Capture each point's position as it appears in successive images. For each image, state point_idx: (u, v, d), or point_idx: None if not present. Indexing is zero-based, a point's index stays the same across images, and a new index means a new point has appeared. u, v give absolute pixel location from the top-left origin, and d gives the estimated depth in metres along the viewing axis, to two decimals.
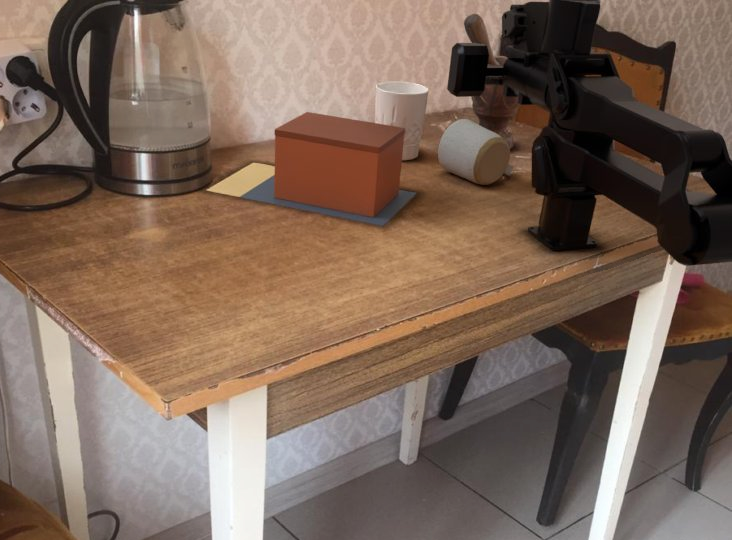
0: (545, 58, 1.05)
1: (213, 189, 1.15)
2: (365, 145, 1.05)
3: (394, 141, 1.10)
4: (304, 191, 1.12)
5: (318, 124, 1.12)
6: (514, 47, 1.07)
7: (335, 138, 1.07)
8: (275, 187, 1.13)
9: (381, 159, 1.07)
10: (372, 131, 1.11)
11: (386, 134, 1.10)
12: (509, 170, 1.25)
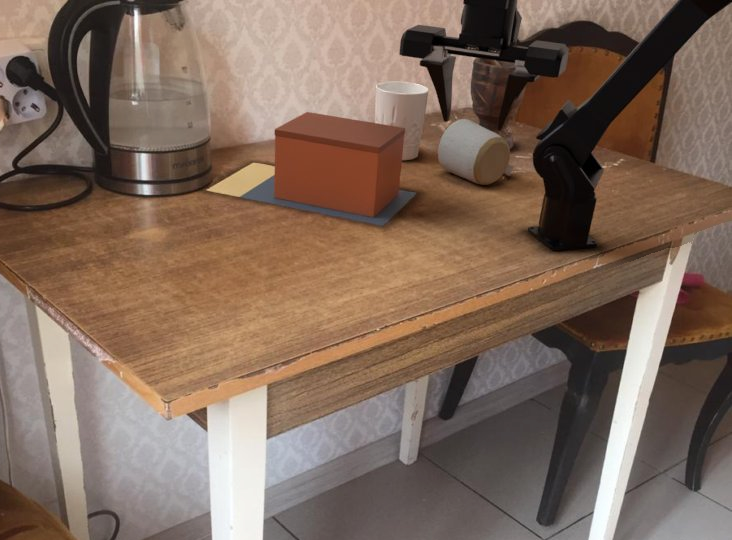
0: None
1: (213, 189, 1.15)
2: (365, 145, 1.05)
3: (394, 141, 1.10)
4: (304, 191, 1.12)
5: (318, 124, 1.12)
6: None
7: (335, 138, 1.07)
8: (275, 187, 1.13)
9: (381, 159, 1.07)
10: (372, 131, 1.11)
11: (386, 134, 1.10)
12: (509, 170, 1.25)
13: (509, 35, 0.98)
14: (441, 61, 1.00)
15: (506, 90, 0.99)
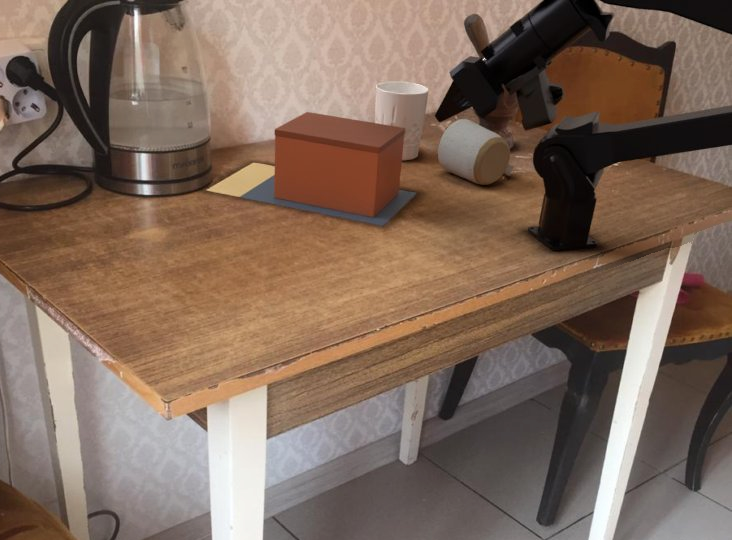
0: None
1: (213, 189, 1.15)
2: (365, 145, 1.05)
3: (394, 141, 1.10)
4: (304, 191, 1.12)
5: (318, 124, 1.12)
6: None
7: (335, 138, 1.07)
8: (275, 187, 1.13)
9: (381, 159, 1.07)
10: (372, 131, 1.11)
11: (386, 134, 1.10)
12: (509, 170, 1.25)
13: (500, 63, 0.97)
14: None
15: None
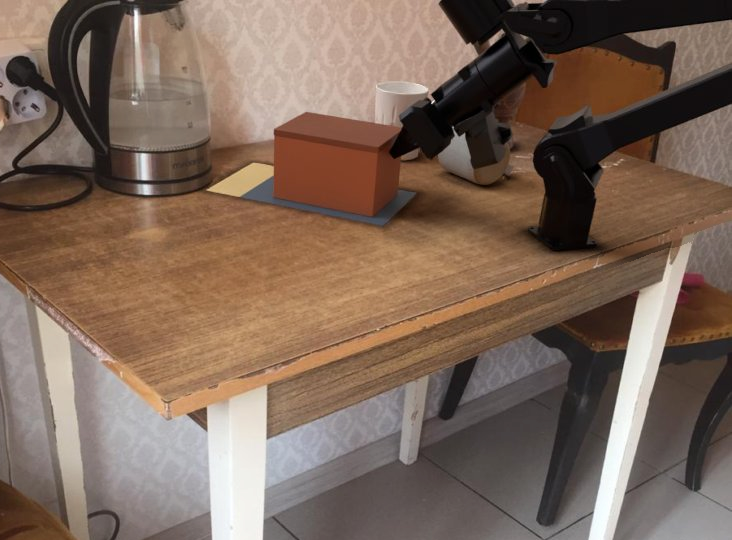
0: None
1: (213, 189, 1.15)
2: (364, 145, 1.06)
3: (393, 141, 1.10)
4: (303, 191, 1.12)
5: (317, 124, 1.12)
6: None
7: (334, 138, 1.07)
8: (274, 187, 1.13)
9: (381, 159, 1.07)
10: (371, 130, 1.11)
11: (385, 134, 1.10)
12: (509, 170, 1.25)
13: (448, 106, 1.02)
14: None
15: None
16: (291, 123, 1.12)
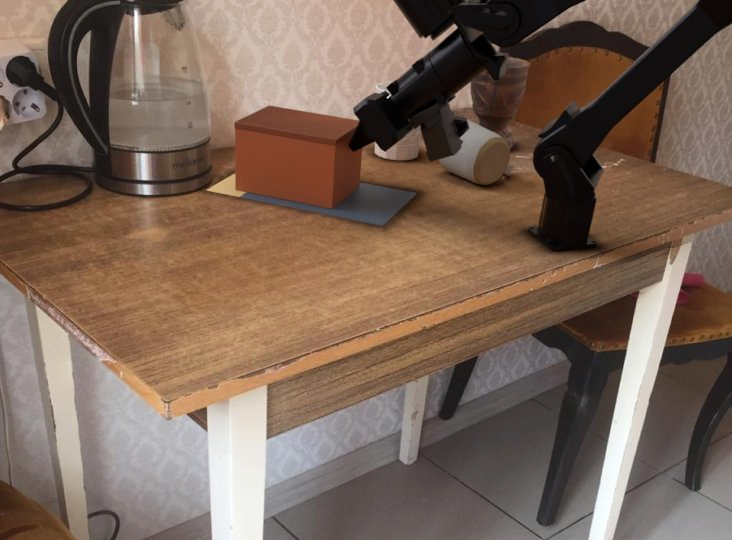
0: None
1: (213, 189, 1.15)
2: (322, 138, 1.07)
3: (352, 134, 1.12)
4: (264, 184, 1.13)
5: (278, 117, 1.14)
6: None
7: (293, 131, 1.09)
8: (236, 179, 1.15)
9: (339, 151, 1.09)
10: (331, 124, 1.12)
11: (344, 127, 1.11)
12: (509, 170, 1.25)
13: (403, 99, 1.03)
14: None
15: None
16: (252, 116, 1.13)
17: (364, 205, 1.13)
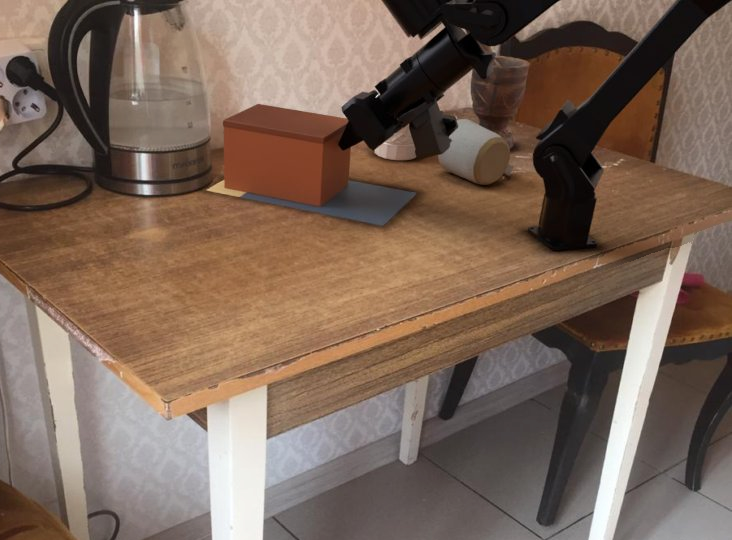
0: None
1: (213, 189, 1.15)
2: (309, 136, 1.08)
3: (340, 132, 1.12)
4: (253, 182, 1.14)
5: (267, 115, 1.14)
6: None
7: (281, 129, 1.09)
8: (225, 177, 1.15)
9: (327, 149, 1.09)
10: (319, 122, 1.13)
11: (333, 125, 1.12)
12: (509, 170, 1.25)
13: (392, 97, 1.04)
14: None
15: None
16: (241, 114, 1.14)
17: (364, 205, 1.13)
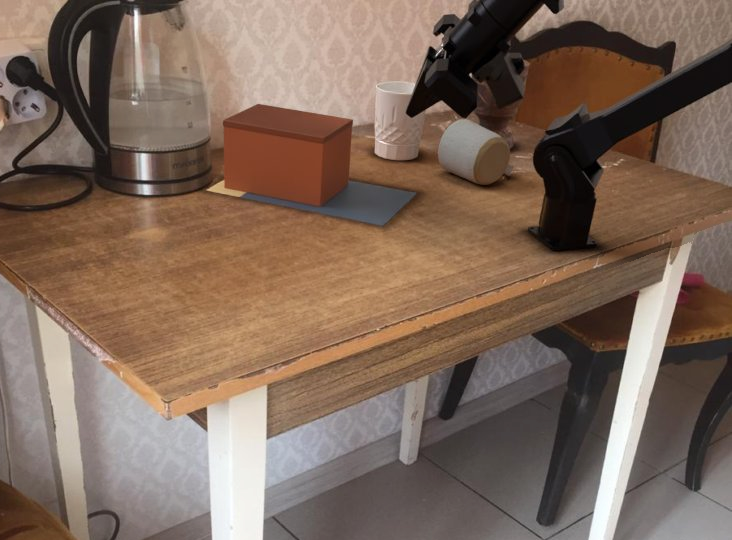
0: None
1: (213, 189, 1.15)
2: (309, 136, 1.08)
3: (340, 132, 1.12)
4: (253, 182, 1.14)
5: (267, 115, 1.14)
6: None
7: (281, 129, 1.09)
8: (225, 177, 1.15)
9: (327, 149, 1.09)
10: (319, 122, 1.13)
11: (333, 125, 1.12)
12: (509, 170, 1.25)
13: (464, 55, 0.98)
14: (435, 56, 1.03)
15: (421, 73, 1.03)
16: (241, 114, 1.14)
17: (364, 205, 1.13)
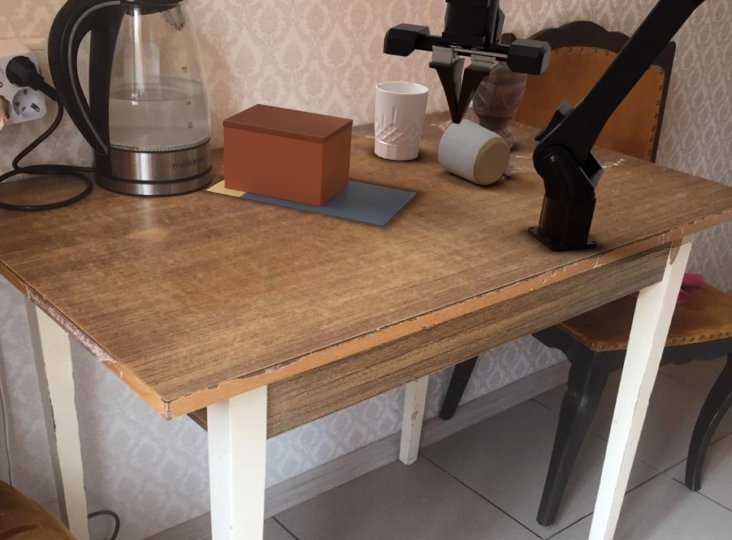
0: None
1: (213, 189, 1.15)
2: (309, 136, 1.08)
3: (340, 132, 1.12)
4: (253, 182, 1.14)
5: (267, 115, 1.14)
6: None
7: (281, 129, 1.09)
8: (225, 177, 1.15)
9: (327, 149, 1.09)
10: (319, 122, 1.13)
11: (333, 125, 1.12)
12: (509, 170, 1.25)
13: (491, 33, 0.98)
14: (450, 63, 1.00)
15: (462, 84, 1.00)
16: (241, 114, 1.14)
17: (364, 205, 1.13)
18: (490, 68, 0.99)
